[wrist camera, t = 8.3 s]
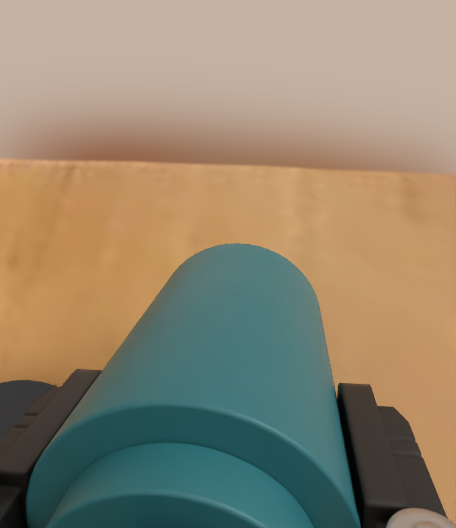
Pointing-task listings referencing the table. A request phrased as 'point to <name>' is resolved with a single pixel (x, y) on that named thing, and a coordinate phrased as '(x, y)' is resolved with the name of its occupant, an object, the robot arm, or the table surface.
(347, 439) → the robot arm
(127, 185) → the table surface
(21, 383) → the coaster
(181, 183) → the table surface
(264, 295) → the spray bottle
